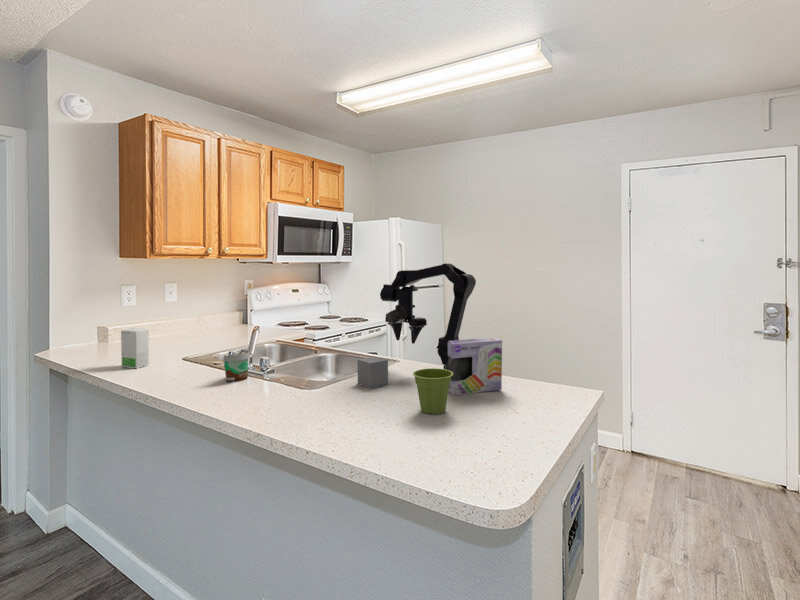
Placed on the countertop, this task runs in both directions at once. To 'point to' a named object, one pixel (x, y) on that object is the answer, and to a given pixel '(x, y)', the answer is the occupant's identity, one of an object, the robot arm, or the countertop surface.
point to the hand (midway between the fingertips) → (405, 341)
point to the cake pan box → (475, 365)
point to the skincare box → (135, 348)
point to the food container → (237, 366)
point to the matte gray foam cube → (373, 372)
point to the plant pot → (433, 389)
